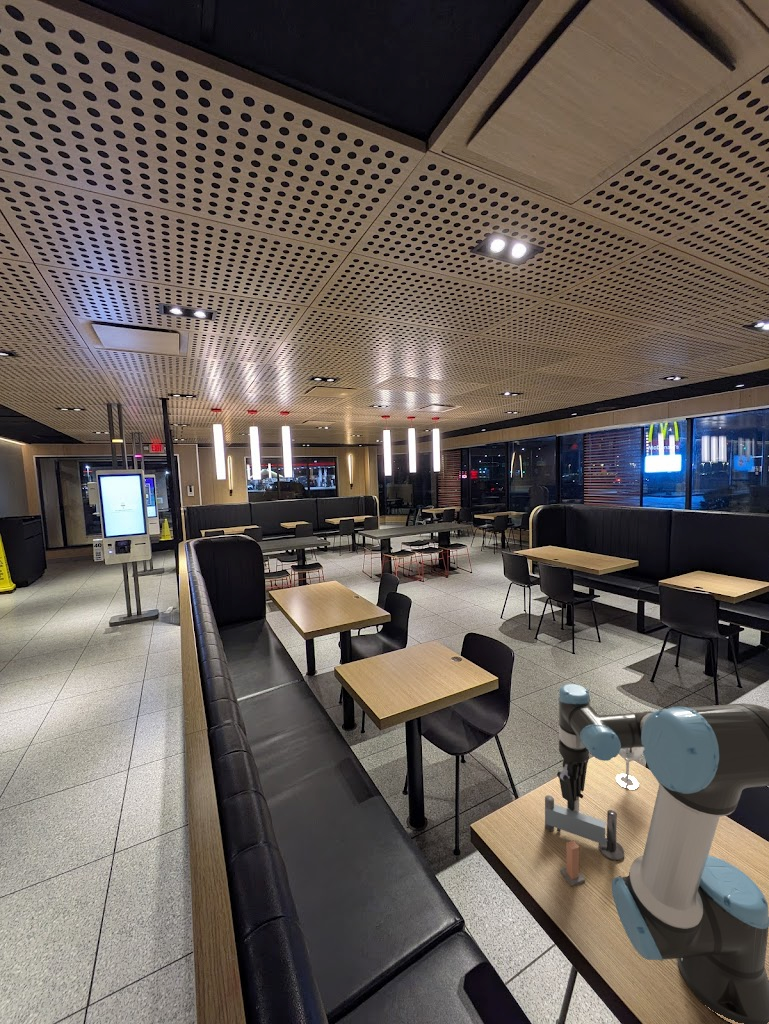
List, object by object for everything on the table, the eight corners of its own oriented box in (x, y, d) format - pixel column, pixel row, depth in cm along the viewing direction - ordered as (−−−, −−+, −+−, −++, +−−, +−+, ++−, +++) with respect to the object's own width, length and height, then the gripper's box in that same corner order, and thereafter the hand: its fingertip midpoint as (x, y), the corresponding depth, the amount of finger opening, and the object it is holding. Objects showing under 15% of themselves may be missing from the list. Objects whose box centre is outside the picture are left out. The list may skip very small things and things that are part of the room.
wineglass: (606, 778, 136) (608, 727, 133) (623, 769, 139) (625, 719, 137) (630, 795, 128) (632, 742, 126) (647, 786, 132) (649, 733, 130)
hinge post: (629, 857, 109) (630, 819, 108) (611, 864, 108) (612, 826, 106) (611, 837, 115) (612, 801, 114) (593, 843, 113) (594, 807, 112)
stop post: (584, 881, 104) (585, 849, 103) (571, 886, 103) (571, 854, 101) (573, 866, 108) (573, 835, 106) (560, 871, 106) (560, 840, 105)
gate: (605, 843, 113) (605, 813, 112) (604, 850, 111) (605, 820, 110) (545, 822, 120) (545, 794, 119) (544, 828, 118) (544, 800, 117)
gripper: (572, 724, 121) (572, 796, 124) (548, 744, 113) (548, 821, 117) (599, 737, 115) (597, 812, 118) (574, 759, 107) (574, 839, 111)
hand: (573, 816), depth 118 cm, fingers closed
